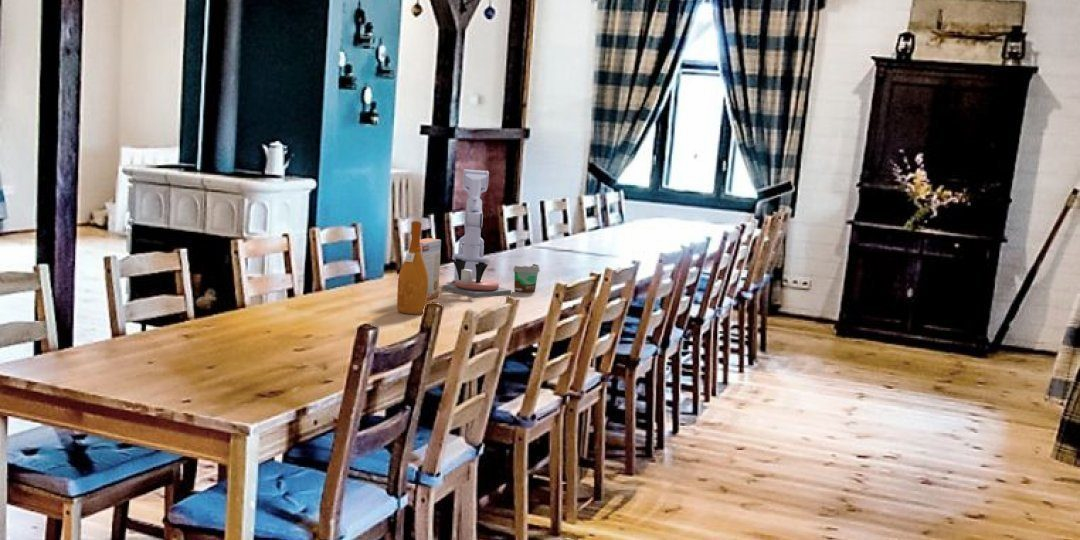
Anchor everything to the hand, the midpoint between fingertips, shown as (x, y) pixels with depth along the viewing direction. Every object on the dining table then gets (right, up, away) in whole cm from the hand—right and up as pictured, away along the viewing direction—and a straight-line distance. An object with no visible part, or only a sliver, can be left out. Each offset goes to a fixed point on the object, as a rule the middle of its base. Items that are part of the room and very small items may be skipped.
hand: (469, 281), depth 400 cm
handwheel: (+2, -2, +5) cm, 6 cm away
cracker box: (-15, -6, -17) cm, 24 cm away
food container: (+21, -4, +14) cm, 26 cm away
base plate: (+2, -4, +6) cm, 7 cm away
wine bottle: (-16, -10, -42) cm, 46 cm away
